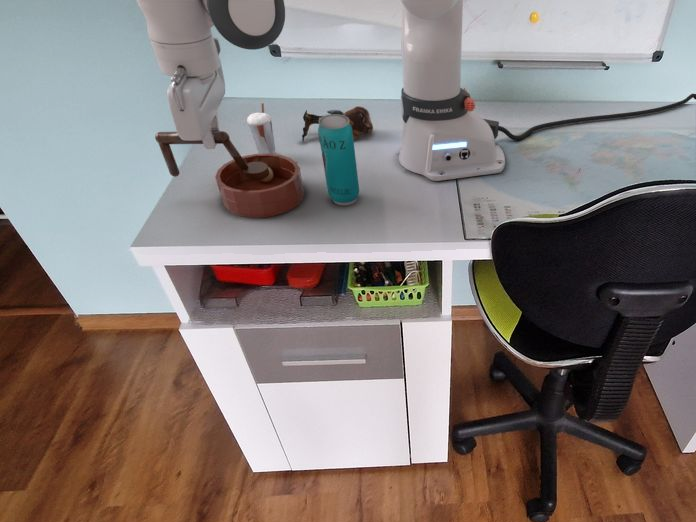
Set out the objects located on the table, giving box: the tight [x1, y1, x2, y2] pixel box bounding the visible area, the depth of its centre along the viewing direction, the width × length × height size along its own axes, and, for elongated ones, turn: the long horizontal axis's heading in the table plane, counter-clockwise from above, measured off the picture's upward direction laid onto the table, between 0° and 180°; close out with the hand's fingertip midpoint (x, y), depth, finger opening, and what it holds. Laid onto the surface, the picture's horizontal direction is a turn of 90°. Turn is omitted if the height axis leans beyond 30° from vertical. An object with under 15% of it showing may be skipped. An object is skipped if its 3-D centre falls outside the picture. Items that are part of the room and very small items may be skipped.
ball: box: [261, 167, 273, 182], centre depth 103 cm, size 3×3×3 cm
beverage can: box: [317, 114, 360, 207], centre depth 96 cm, size 6×6×15 cm
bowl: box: [214, 153, 305, 219], centre depth 100 cm, size 15×15×5 cm
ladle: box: [154, 130, 269, 180], centre depth 94 cm, size 17×4×8 cm, turn 98°
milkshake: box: [246, 102, 277, 154], centre depth 109 cm, size 4×5×10 cm
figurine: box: [301, 106, 374, 143], centre depth 119 cm, size 8×16×6 cm, turn 98°
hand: (213, 142), depth 93 cm, fingers closed on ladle, 2 cm apart
